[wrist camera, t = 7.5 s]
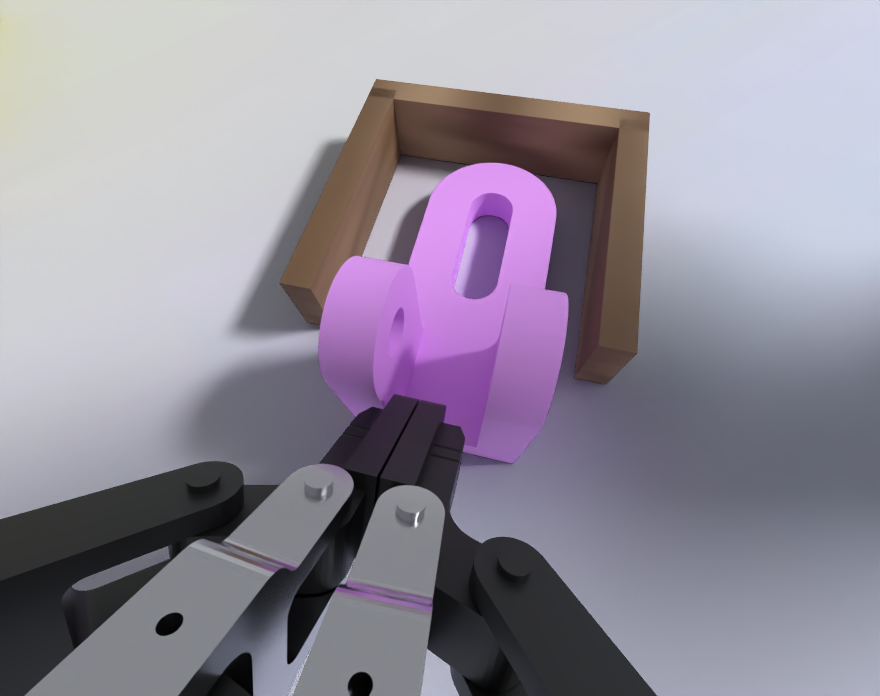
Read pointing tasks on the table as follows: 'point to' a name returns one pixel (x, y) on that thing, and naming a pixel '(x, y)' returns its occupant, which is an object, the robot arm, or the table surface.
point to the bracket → (456, 318)
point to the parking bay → (493, 141)
